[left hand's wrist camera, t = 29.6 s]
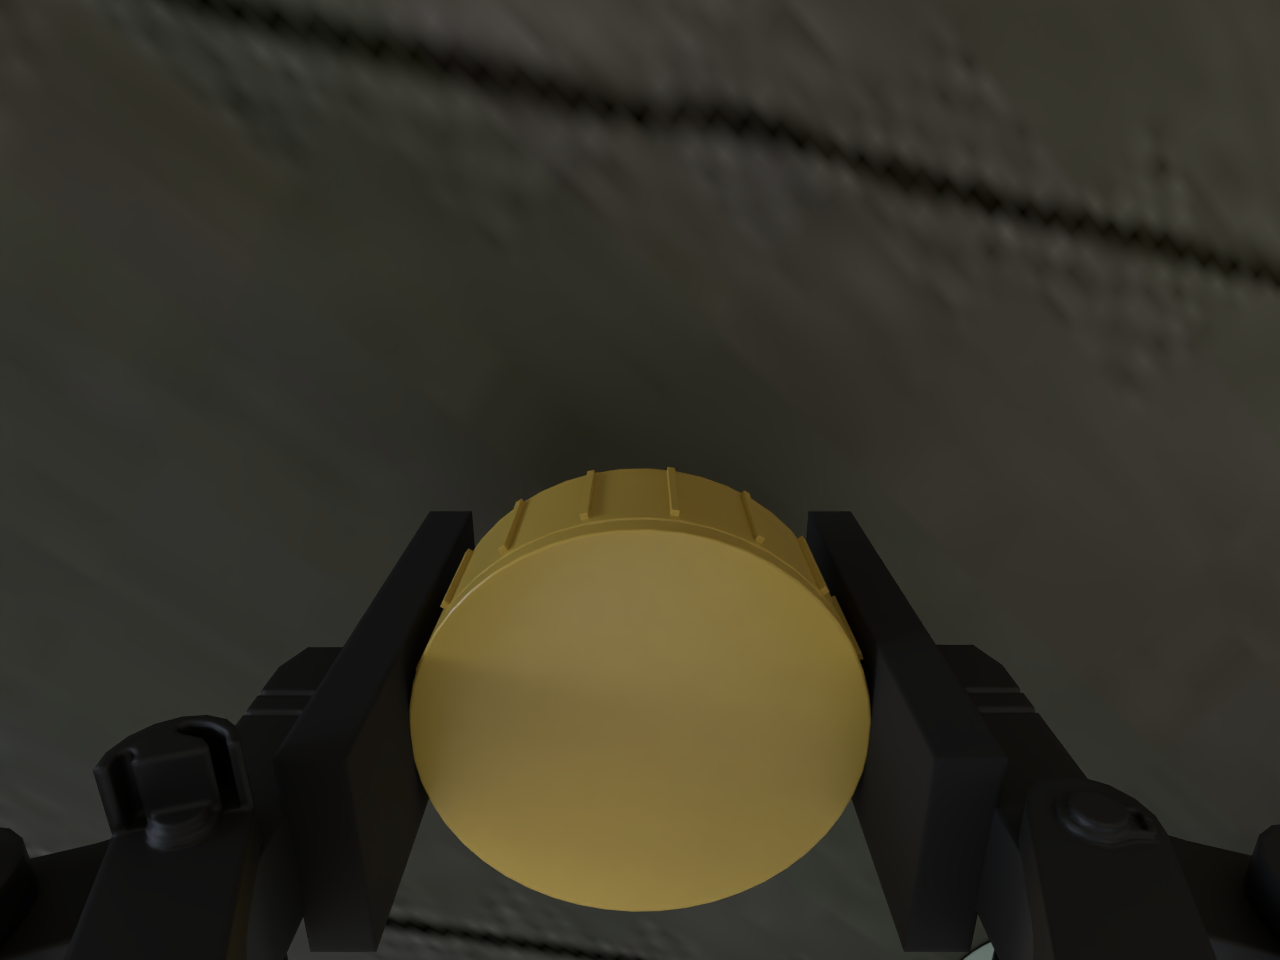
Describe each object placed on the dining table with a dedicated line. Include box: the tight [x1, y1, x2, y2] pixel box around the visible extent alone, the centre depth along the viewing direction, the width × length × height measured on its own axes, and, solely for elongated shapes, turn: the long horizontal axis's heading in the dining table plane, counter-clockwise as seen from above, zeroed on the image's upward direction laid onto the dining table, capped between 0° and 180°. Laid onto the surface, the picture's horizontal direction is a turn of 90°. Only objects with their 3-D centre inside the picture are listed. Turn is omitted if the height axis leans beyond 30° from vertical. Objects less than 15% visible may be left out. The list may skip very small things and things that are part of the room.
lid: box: [409, 467, 871, 911], centre depth 11 cm, size 6×6×2 cm
